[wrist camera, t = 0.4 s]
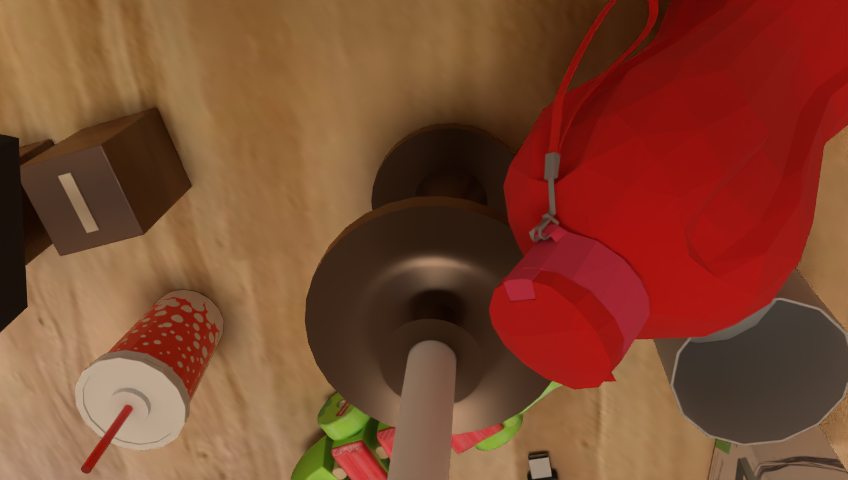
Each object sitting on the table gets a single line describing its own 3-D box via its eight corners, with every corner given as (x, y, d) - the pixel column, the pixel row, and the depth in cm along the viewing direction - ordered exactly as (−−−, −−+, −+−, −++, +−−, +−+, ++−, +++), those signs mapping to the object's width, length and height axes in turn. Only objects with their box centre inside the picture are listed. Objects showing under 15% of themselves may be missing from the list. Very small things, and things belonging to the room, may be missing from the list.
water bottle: (871, -201, 31) (545, 140, 18) (963, 37, 34) (746, 472, 21) (674, -95, 38) (344, 199, 25) (765, 92, 41) (515, 437, 28)
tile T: (-22, 159, 46) (-105, 203, 39) (50, 138, 45) (-23, 180, 39) (19, 233, 48) (-54, 287, 41) (89, 214, 47) (25, 266, 40)
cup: (614, 317, 47) (644, 419, 38) (665, 197, 44) (712, 278, 35) (744, 352, 47) (805, 462, 38) (805, 236, 44) (888, 326, 35)
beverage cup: (153, 265, 48) (32, 400, 35) (246, 298, 48) (160, 443, 36) (134, 342, 51) (15, 494, 38) (223, 373, 51) (135, 533, 38)
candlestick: (321, 168, 44) (-98, 877, 13) (484, 70, 41) (474, 679, 9) (422, 310, 48) (292, 1149, 16) (578, 229, 45) (803, 1068, 13)
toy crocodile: (532, 295, 47) (538, 349, 41) (581, 375, 49) (593, 436, 43) (275, 418, 52) (250, 480, 47) (329, 485, 54) (311, 553, 49)
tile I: (80, 129, 45) (11, 170, 38) (157, 107, 44) (99, 144, 37) (118, 206, 46) (58, 257, 40) (192, 186, 46) (143, 235, 39)
